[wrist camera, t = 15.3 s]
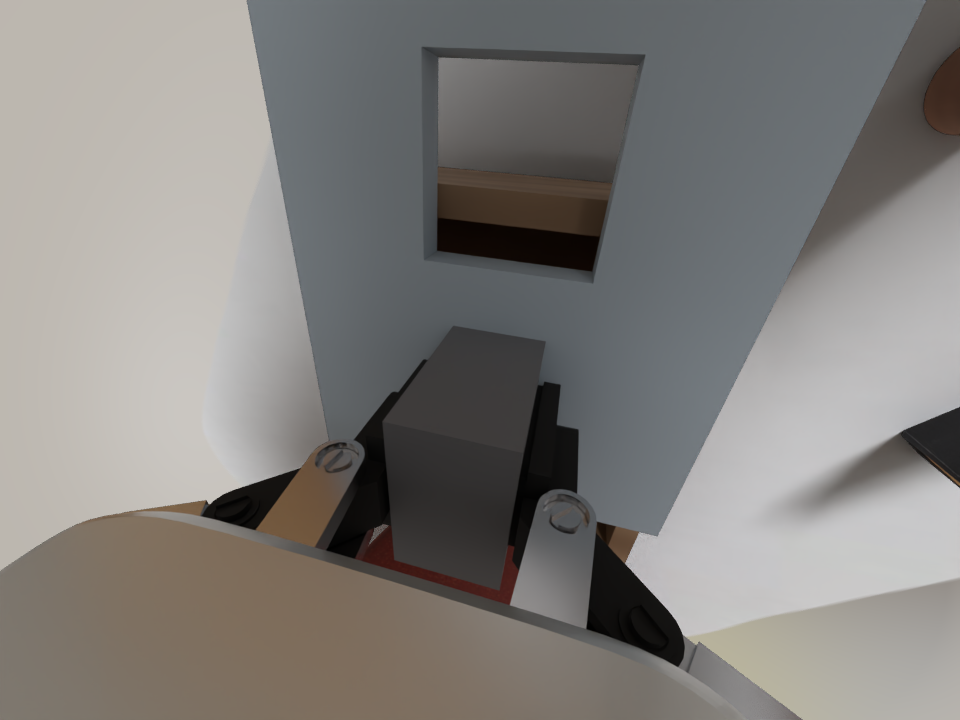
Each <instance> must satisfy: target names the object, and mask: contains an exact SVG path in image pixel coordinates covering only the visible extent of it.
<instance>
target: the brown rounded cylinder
mask: <svg viewBox="0 0 960 720" xmlns="http://www.w3.org/2000/svg"><path fill="white" fill-rule="evenodd" d="M924 113H925V117H926V119H927V121H928V123H929V124H930V125H931V126H932V127H933V128H934V129H935V130H937V131H939V132H941V133H945V134H949V135H960V48H958V49H957V50H956V51H955V52H954V53H953V54H952V55H951V56H950V57H949V58H948V59H947V60H946V61H945V62H944V63H943V64H942V65H941V67H940V68H939V69H938V71H937V72H936V74H935V75H934V77H933V79H932V80H931V82H930V84H929V87H928V89H927V92H926V95H925V100H924Z"/></svg>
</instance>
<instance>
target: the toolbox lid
mask: <svg viewBox="0 0 960 720" xmlns="http://www.w3.org/2000/svg"><path fill="white" fill-rule="evenodd" d="M926 1H927V0H247V4H248V10H249V15H250V21H251V25H252V31H253V36H254V42H255V47H256V53H257V58H258V63H259V69H260V74H261V79H262V85H263V89H264V95H265V101H266V106H267V111H268V117H269V122H270V127H271V133H272V138H273V143H274V149H275V154H276V159H277V165H278V170H279V176H280V181H281V186H282V192H283V197H284V202H285V208H286V213H287V218H288V224H289V229H290V234H291V240H292V245H293V250H294V256H295V261H296V266H297V272H298V277H299V282H300V288H301V293H302V298H303V304H304V309H305V314H306V320H307V325H308V330H309V336H310V341H311V346H312V352H313V357H314V362H315V368H316V373H317V379H318V384H319V389H320V395H321V400H322V405H323V411H324V416H325V421H326V427H327V432H328V437H329V441H331V440H336V439H351V440H354V439H355V437H356V436H357V435H358V433H359V432H360V431H361V430H362V428H363V427H364V426H365V425H366V423H367V422H368V421H369V420H370V418H371V417H372V416H373V415H374V413H375V412H376V411H377V409H378V408H379V407H380V406H381V404H382V403H383V402H384V401H385V399H386V398H387V397H388V396H389V394H390V393H392V392H399V391H400V389H401V388H402V387H403V385H404V384H405V383H406V381H407V380H408V379H409V377H410V376H411V375H412V373H413V372H414V371H415V370H416V368H417V367H418V366H419V364H420V363H421V362H422V360H424V359H426V360H428V361H427V362H426V363H425V365H424V366H423V367H422V369H421V370H420V371H419V373H418V374H417V375H416V377H415V378H414V379H413V381H412V382H411V384H410V385H409V386H408V388H407V389H406V390H405V392H404V393H403V394H402V396H401V397H400V398H399V400H398V401H397V402H396V404H395V405H394V407H393V408H392V409H391V411H390V412H389V413H388V415H387V416H386V417H385V419H384V420H383V421H382V423H383V435H384V446H385V458H386V469H387V481H388V492H389V504H390V515H391V527H392V538H393V550H394V560H396V561H399V562H403V563H406V564H410V565H413V566H417V567H420V568H423V569H427V570H430V571H434V572H437V573H441V574H444V575H448V576H451V577H454V578H458V579H461V580H465V581H468V582H472V583H475V584H478V585H482V586H485V587H489V588H492V589H496V590H500V585H501V580H502V575H503V569H504V564H505V559H506V554H507V549H508V540H509V534H510V529H511V523H512V517H513V511H514V505H515V500H516V494H517V488H518V482H519V477H520V471H521V466H522V461H523V456H524V451H525V446H526V441H527V436H528V431H529V426H530V421H531V416H532V411H533V406H534V401H535V396H536V391H537V386H538V385H542V386H543V385H544V382H549V383H555V384H560V385H561V389H560V398H559V408H558V418H557V425H560V426H565V427H570V428H575V429H578V430H579V446H578V487H577V494H579V495H580V496H582V497H583V498H584V499H586V500H587V501H588V503H589V504H590V505H591V506H592V507H593V510H594V512H595V514H596V521H597V522H601V523H605V524H609V525H613V526H617V527H621V528H625V529H629V530H634V531H638V532H642V533H646V534H650V535H654V536H658V534H659V532H660V530H661V528H662V526H663V524H664V522H665V520H666V518H667V516H668V514H669V512H670V510H671V508H672V506H673V504H674V502H675V500H676V498H677V496H678V494H679V492H680V490H681V488H682V486H683V484H684V482H685V480H686V478H687V476H688V474H689V472H690V470H691V468H692V466H693V464H694V462H695V460H696V458H697V456H698V454H699V452H700V450H701V448H702V446H703V444H704V442H705V440H706V438H707V437H708V435H709V433H710V431H711V429H712V427H713V425H714V423H715V421H716V419H717V417H718V415H719V413H720V411H721V409H722V407H723V405H724V403H725V401H726V399H727V397H728V395H729V393H730V391H731V389H732V387H733V385H734V383H735V381H736V379H737V377H738V375H739V373H740V371H741V369H742V367H743V365H744V363H745V361H746V359H747V357H748V355H749V353H750V351H751V349H752V347H753V345H754V343H755V341H756V339H757V337H758V335H759V333H760V331H761V329H762V327H763V325H764V323H765V321H766V319H767V317H768V315H769V313H770V311H771V309H772V307H773V305H774V303H775V301H776V299H777V297H778V295H779V293H780V291H781V289H782V287H783V285H784V283H785V281H786V279H787V277H788V275H789V273H790V271H791V269H792V267H793V265H794V263H795V261H796V259H797V257H798V255H799V253H800V251H801V249H802V247H803V245H804V243H805V241H806V239H807V237H808V235H809V233H810V231H811V229H812V227H813V225H814V223H815V221H816V219H817V218H818V216H819V214H820V212H821V210H822V208H823V206H824V204H825V202H826V200H827V198H828V196H829V194H830V192H831V190H832V188H833V186H834V184H835V182H836V180H837V178H838V176H839V174H840V172H841V170H842V168H843V166H844V164H845V162H846V160H847V158H848V156H849V154H850V152H851V150H852V148H853V146H854V144H855V142H856V140H857V138H858V136H859V134H860V132H861V130H862V128H863V126H864V124H865V122H866V120H867V118H868V116H869V114H870V112H871V110H872V108H873V106H874V104H875V102H876V100H877V98H878V96H879V94H880V92H881V90H882V88H883V86H884V84H885V82H886V80H887V78H888V76H889V74H890V72H891V70H892V68H893V66H894V64H895V62H896V60H897V58H898V56H899V54H900V52H901V50H902V48H903V46H904V44H905V42H906V40H907V38H908V36H909V34H910V32H911V30H912V28H913V26H914V24H915V22H916V20H917V18H918V16H919V14H920V12H921V10H922V8H923V6H924V4H925V2H926ZM438 57H446V58H471V59H496V60H522V61H547V62H572V63H598V64H623V65H639V67H638V71H637V76H636V80H635V85H634V89H633V94H632V98H631V102H630V107H629V111H628V116H627V120H626V125H625V129H624V133H623V138H622V142H621V147H620V151H619V156H618V160H617V165H616V169H615V173H614V178H613V182H612V187H611V191H610V196H609V200H608V204H607V209H606V213H605V218H604V222H603V227H602V231H601V236H600V240H599V244H598V249H597V253H596V258H595V262H594V267H593V271H592V272H591V271H583V270H576V269H568V268H561V267H553V266H546V265H539V264H531V263H524V262H516V261H509V260H501V259H494V258H486V257H479V256H471V255H464V254H457V253H449V252H442V251H437V181H438Z"/></svg>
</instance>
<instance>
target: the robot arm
mask: <svg viewBox="0 0 960 720" xmlns="http://www.w3.org/2000/svg"><path fill="white" fill-rule="evenodd" d="M427 361H428V360H426V359H424V360H422V362H421V363H420V364H419V366H418V367H417V368H416V370H415V371H414V372H413V373H412V375H411V376H410V377H409V379H408V380H407V381H406V383H405V384H404V385H403V387H402V388H401V389H400V391H399V392H392V393H390V394H389V396H388V397H387V398H386V399H385V401H384V402H383V403H382V404H381V406H380V407H379V408H378V409H377V411H376V412H375V413H374V415H373V416H372V417H371V418H370V420H369V421H368V422H367V423H366V425H365V426H364V427H363V428H362V430H361V431H360V432H359V433H358V435H357V436H356V437H355V439H354V440H351V439H336V440H331V441H329V442H326V443H324V444H322V445H321V446H319V447H318V448H317V449H316V450H315V451H314V452H313V453H312V454H311V455H310V457H309V458H308V459H307V461H306V462H305V463H304V465H303V466H302V467H301V468H300V469H297V470H294V471H291V472H288V473H284V474H281V475H278V476H275V477H272V478H269V479H266V480H263V481H260V482H257V483H254V484H251V485H248V486H245V487H242V488H239V489H236V490H233V491H231V492H228V493H226V494H224V495H222V496H220V497H219V498H217V499H216V500H214V501H213V502H212V503H211V504H208V502H207V501H206V500H205V501H198V502H191V503H184V504H177V505H170V506H163V507H157V508H150V509H143V510H136V511H129V512H124V513H120V514H113V515H107V516H102V517H98V518H94V519H90V520H87V521H85V522H82V523H79V524H76V525H74V526H72V527H70V528H68V529H66V530H64V531H62V532H60V533H58V534H57V535H55V536H53V537H51V538H50V539H48V540H46V541H45V542H43V543H42V544H40V545H38V546H37V547H35V548H34V549H32V550H31V551H29V552H28V553H26V554H25V555H23V556H21V557H20V558H19V559H17V560H15V561H14V562H12V563H11V564H9V565H8V566H6V567H5V568H4V569H2V570H1V571H0V720H802V719H801V718H799V717H798V716H797V715H796V714H794V713H793V712H792V711H790V710H789V709H788V708H786V707H785V706H784V705H782V704H781V703H779V702H778V701H777V700H776V699H774V698H773V697H772V696H771V695H769V694H768V693H767V692H765V691H764V690H763V689H761V688H760V687H759V686H757V685H756V684H755V683H753V682H752V681H751V680H749V679H748V678H747V677H745V676H744V675H743V674H741V673H740V672H739V671H737V670H736V669H735V668H734V667H732V666H731V665H730V664H728V663H727V662H726V661H724V660H723V659H722V658H720V657H719V656H718V655H716V654H715V653H714V652H712V651H711V650H710V649H708V648H707V647H706V646H704V645H703V644H702V643H700V642H698V644H697V645H695V644H694V643H692V642H691V641H690V640H689V639H687V638H686V637H685V636H683V634H682V632H681V630H680V628H679V626H678V624H677V622H676V620H675V619H674V618H673V616H672V615H671V614H670V612H669V611H668V610H667V609H666V608H665V607H664V606H663V604H662V603H661V602H660V601H659V600H658V599H657V598H656V597H655V596H654V595H653V594H652V593H651V592H650V590H649V589H648V588H647V587H646V586H645V585H644V584H643V583H642V582H641V581H640V580H639V579H638V577H637V576H636V575H635V574H634V573H633V572H632V571H631V570H630V569H629V568H628V567H627V566H626V565H625V563H624V562H623V561H622V560H621V559H620V558H619V557H618V556H617V555H616V554H615V553H614V552H613V550H612V549H611V548H610V547H609V546H608V545H607V544H606V543H605V542H604V541H603V540H602V539H601V538H600V536H599V535H598V534H597V533H596V525H597V521H596V514H595V512H594V510H593V507H592V506H591V505H590V504H589V503H588V501H587V500H586V499H584V498H583V497H582V496H580V495H579V494H577V487H578V446H579V430H578V429H575V428H570V427H565V426H560V425H557V418H558V408H559V398H560V389H561V385H560V384H555V383H549V382H544V385H543V386H542V385H538V386H537V391H536V396H535V401H534V406H533V411H532V416H531V421H530V426H529V431H528V436H527V441H526V446H525V451H524V456H523V461H522V466H521V471H520V477H519V482H518V488H517V494H516V500H515V505H514V511H513V517H512V523H511V529H510V534H509V540H508V545H510V546H513V547H514V551H513V557H512V561H513V563H514V564H515V566H516V567H517V569H518V570H519V573H518V577H517V581H516V584H515V588H514V592H513V595H512V599H511V603H510V605H507V604H504V603H501V602H497V601H494V600H491V599H487V598H484V597H481V596H477V595H474V594H471V593H467V592H464V591H461V590H457V589H454V588H451V587H447V586H444V585H441V584H437V583H434V582H431V581H427V580H424V579H421V578H417V577H414V576H410V575H407V574H404V573H400V572H397V571H394V570H390V569H387V568H383V567H380V566H377V565H373V564H370V563H366V562H363V561H362V559H363V556H364V554H365V552H366V549H367V547H368V545H369V542H370V540H371V538H372V535H373V531H374V528H376V527H378V526H380V525H382V523H383V524H386V525H390V526H391V515H390V504H389V492H388V481H387V469H386V458H385V446H384V435H383V423H382V421H383V420H384V419H385V417H386V416H387V415H388V413H389V412H390V411H391V409H392V408H393V407H394V405H395V404H396V402H397V401H398V400H399V398H400V397H401V396H402V394H403V393H404V392H405V390H406V389H407V388H408V386H409V385H410V384H411V382H412V381H413V379H414V378H415V377H416V375H417V374H418V373H419V371H420V370H421V369H422V367H423V366H424V365H425V363H426V362H427Z"/></svg>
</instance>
